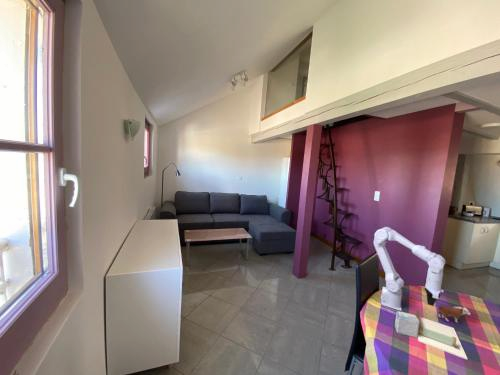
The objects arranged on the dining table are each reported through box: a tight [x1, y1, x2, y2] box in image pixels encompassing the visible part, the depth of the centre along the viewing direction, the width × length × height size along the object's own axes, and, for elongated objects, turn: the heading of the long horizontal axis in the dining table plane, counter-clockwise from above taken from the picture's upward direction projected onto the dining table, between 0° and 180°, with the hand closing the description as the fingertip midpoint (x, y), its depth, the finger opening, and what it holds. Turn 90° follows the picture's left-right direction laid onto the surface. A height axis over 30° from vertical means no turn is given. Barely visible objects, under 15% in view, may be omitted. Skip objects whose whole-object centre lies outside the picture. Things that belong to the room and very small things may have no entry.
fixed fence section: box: [414, 310, 421, 325], centre depth 104 cm, size 1×12×4 cm, turn 148°
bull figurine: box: [437, 305, 471, 324], centre depth 109 cm, size 4×13×8 cm, turn 78°
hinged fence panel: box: [418, 325, 457, 347], centre depth 95 cm, size 13×2×4 cm, turn 58°
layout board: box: [417, 316, 468, 360], centre depth 99 cm, size 16×20×1 cm
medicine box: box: [394, 310, 419, 339], centre depth 100 cm, size 8×4×9 cm, turn 71°
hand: (430, 304), depth 107 cm, fingers closed
